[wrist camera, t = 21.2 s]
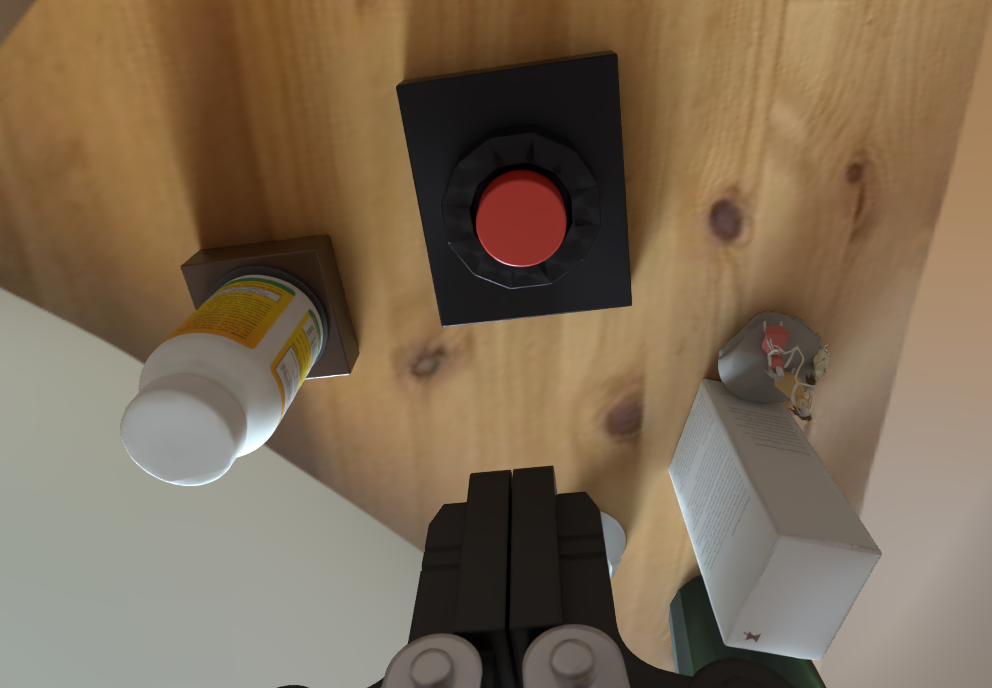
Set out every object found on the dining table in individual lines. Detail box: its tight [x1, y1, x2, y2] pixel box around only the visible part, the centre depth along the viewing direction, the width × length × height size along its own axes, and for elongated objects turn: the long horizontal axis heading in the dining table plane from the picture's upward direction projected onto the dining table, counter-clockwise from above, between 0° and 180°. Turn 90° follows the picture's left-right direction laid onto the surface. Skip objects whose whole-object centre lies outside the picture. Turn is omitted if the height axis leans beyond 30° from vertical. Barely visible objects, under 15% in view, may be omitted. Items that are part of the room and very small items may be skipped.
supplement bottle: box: [120, 275, 323, 486], centre depth 29 cm, size 5×5×10 cm
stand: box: [181, 234, 359, 379], centre depth 34 cm, size 6×6×2 cm
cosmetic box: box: [669, 379, 882, 660], centre depth 33 cm, size 6×4×12 cm
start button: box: [476, 169, 567, 267], centre depth 29 cm, size 4×4×2 cm
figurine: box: [718, 311, 830, 421], centre depth 33 cm, size 5×4×6 cm
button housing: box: [396, 50, 632, 327], centre depth 31 cm, size 11×9×4 cm
